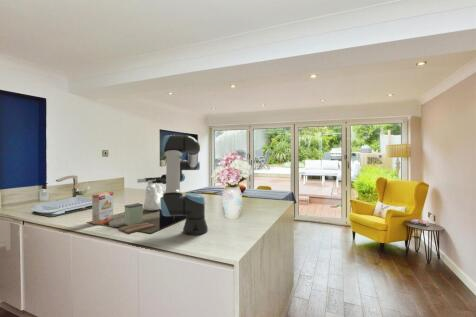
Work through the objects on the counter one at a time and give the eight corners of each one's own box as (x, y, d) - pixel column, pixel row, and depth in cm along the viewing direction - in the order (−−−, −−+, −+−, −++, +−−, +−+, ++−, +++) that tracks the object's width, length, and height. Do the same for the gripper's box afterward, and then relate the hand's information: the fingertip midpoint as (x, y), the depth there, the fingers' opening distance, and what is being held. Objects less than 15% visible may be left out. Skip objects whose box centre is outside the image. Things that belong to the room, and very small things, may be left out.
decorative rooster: (154, 213, 197) (153, 183, 196) (139, 211, 203) (138, 182, 202) (172, 206, 220) (172, 179, 220) (158, 205, 226) (158, 179, 225)
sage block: (142, 222, 172) (142, 204, 172) (129, 225, 164) (129, 206, 164) (138, 220, 176) (138, 203, 175) (124, 224, 168) (124, 205, 167)
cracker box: (99, 225, 165) (99, 194, 165) (92, 224, 166) (91, 194, 166) (113, 219, 179) (113, 191, 178) (106, 219, 180) (106, 191, 180)
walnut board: (155, 226, 161) (155, 224, 161) (129, 233, 147) (128, 232, 147) (144, 223, 169) (144, 221, 169) (118, 229, 155) (118, 228, 155)
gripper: (177, 185, 184) (152, 188, 167) (158, 182, 200) (133, 185, 183) (177, 175, 184) (152, 177, 167) (158, 173, 199) (133, 175, 182)
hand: (142, 181), depth 175 cm, fingers open, 13 cm apart
